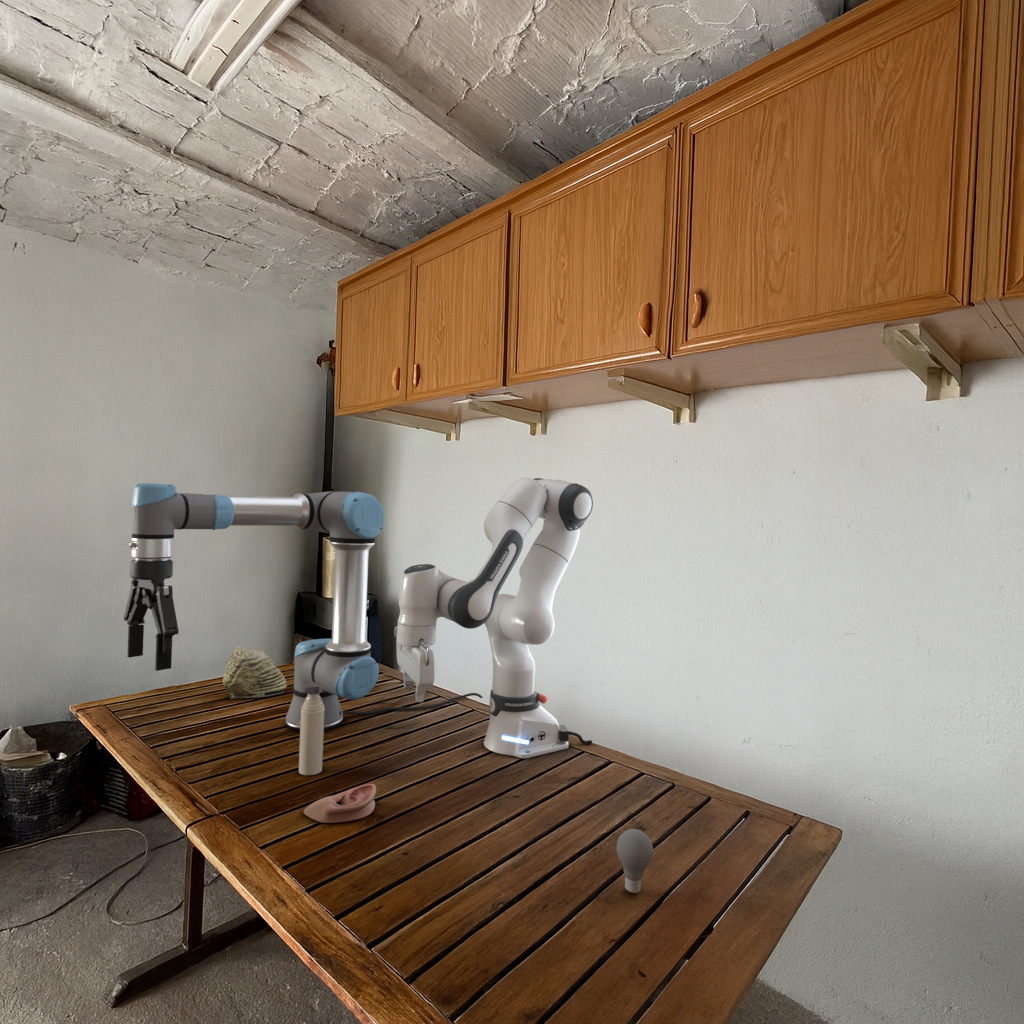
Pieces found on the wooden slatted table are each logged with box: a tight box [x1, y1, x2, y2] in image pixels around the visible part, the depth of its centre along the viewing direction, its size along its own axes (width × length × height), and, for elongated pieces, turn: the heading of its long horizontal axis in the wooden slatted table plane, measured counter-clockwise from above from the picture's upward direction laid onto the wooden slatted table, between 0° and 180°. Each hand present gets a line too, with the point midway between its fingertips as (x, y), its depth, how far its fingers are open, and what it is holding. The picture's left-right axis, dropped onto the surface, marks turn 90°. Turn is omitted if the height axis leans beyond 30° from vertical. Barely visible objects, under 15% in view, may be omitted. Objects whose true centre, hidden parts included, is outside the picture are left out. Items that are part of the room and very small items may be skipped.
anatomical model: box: [302, 783, 377, 824], centre depth 128 cm, size 13×4×12 cm
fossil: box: [222, 646, 288, 699], centre depth 198 cm, size 9×18×15 cm, turn 132°
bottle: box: [298, 694, 325, 776], centre depth 146 cm, size 5×5×20 cm
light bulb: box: [615, 828, 654, 894], centre depth 106 cm, size 6×6×10 cm
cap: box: [305, 682, 322, 694], centre depth 146 cm, size 4×4×2 cm
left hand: (148, 662), depth 129 cm, fingers open, 13 cm apart
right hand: (413, 695), depth 146 cm, fingers open, 8 cm apart
